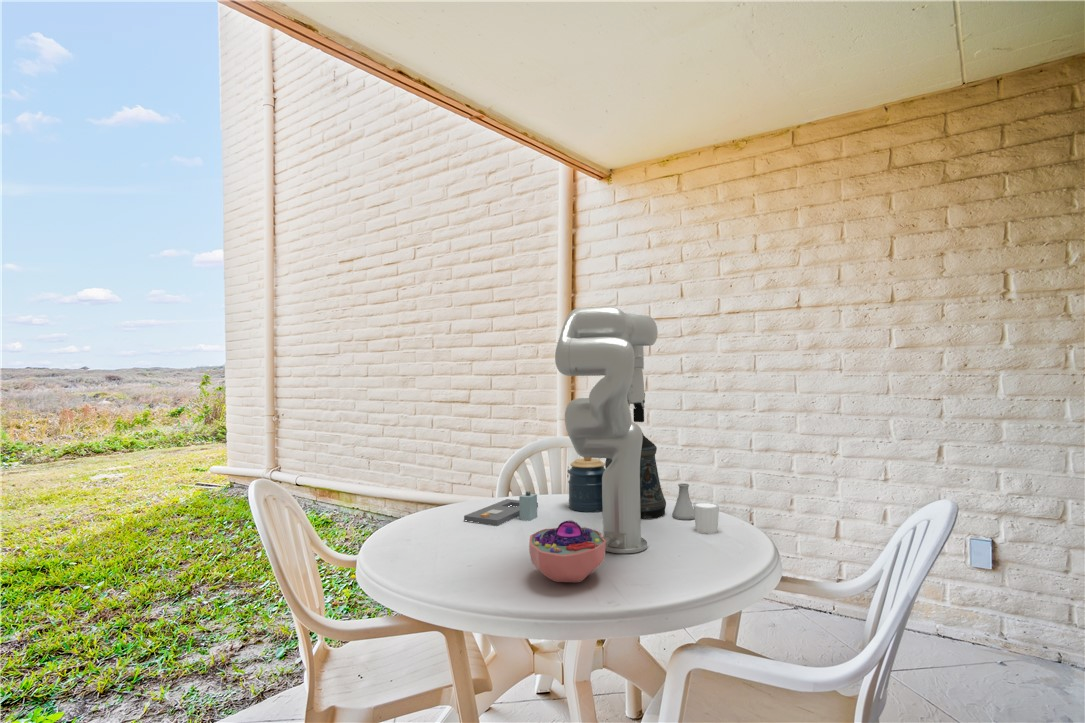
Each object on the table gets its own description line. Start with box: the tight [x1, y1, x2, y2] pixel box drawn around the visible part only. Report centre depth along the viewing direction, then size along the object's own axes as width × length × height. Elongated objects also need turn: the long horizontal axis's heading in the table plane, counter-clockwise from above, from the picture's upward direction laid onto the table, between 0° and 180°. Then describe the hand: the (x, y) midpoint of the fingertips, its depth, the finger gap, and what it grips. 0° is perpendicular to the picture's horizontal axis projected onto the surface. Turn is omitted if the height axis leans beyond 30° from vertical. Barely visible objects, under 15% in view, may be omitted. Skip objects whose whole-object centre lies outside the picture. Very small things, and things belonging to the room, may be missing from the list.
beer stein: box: [604, 432, 667, 520], centre depth 171 cm, size 16×19×25 cm
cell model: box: [528, 520, 606, 583], centre depth 119 cm, size 17×20×11 cm
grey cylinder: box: [692, 502, 720, 534], centre depth 152 cm, size 7×7×7 cm
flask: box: [671, 482, 695, 521], centre depth 166 cm, size 7×7×10 cm
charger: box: [518, 491, 538, 522], centre depth 168 cm, size 4×4×8 cm
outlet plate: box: [463, 498, 539, 527], centre depth 174 cm, size 24×12×2 cm, turn 151°
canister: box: [567, 457, 606, 513], centre depth 180 cm, size 13×13×18 cm
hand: (631, 423), depth 161 cm, fingers open, 9 cm apart
